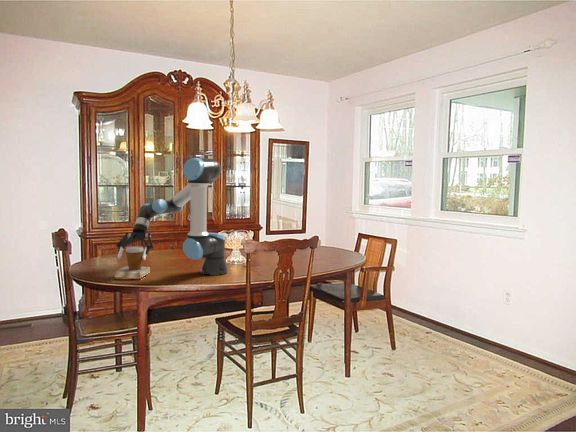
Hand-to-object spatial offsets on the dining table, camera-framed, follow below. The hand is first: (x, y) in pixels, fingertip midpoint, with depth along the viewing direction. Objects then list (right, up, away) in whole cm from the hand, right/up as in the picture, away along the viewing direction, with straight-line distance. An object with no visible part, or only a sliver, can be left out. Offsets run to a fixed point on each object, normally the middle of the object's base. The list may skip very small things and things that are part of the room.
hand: (131, 258), depth 230 cm
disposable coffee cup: (+2, -6, +2) cm, 7 cm away
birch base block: (0, -10, +2) cm, 10 cm away
